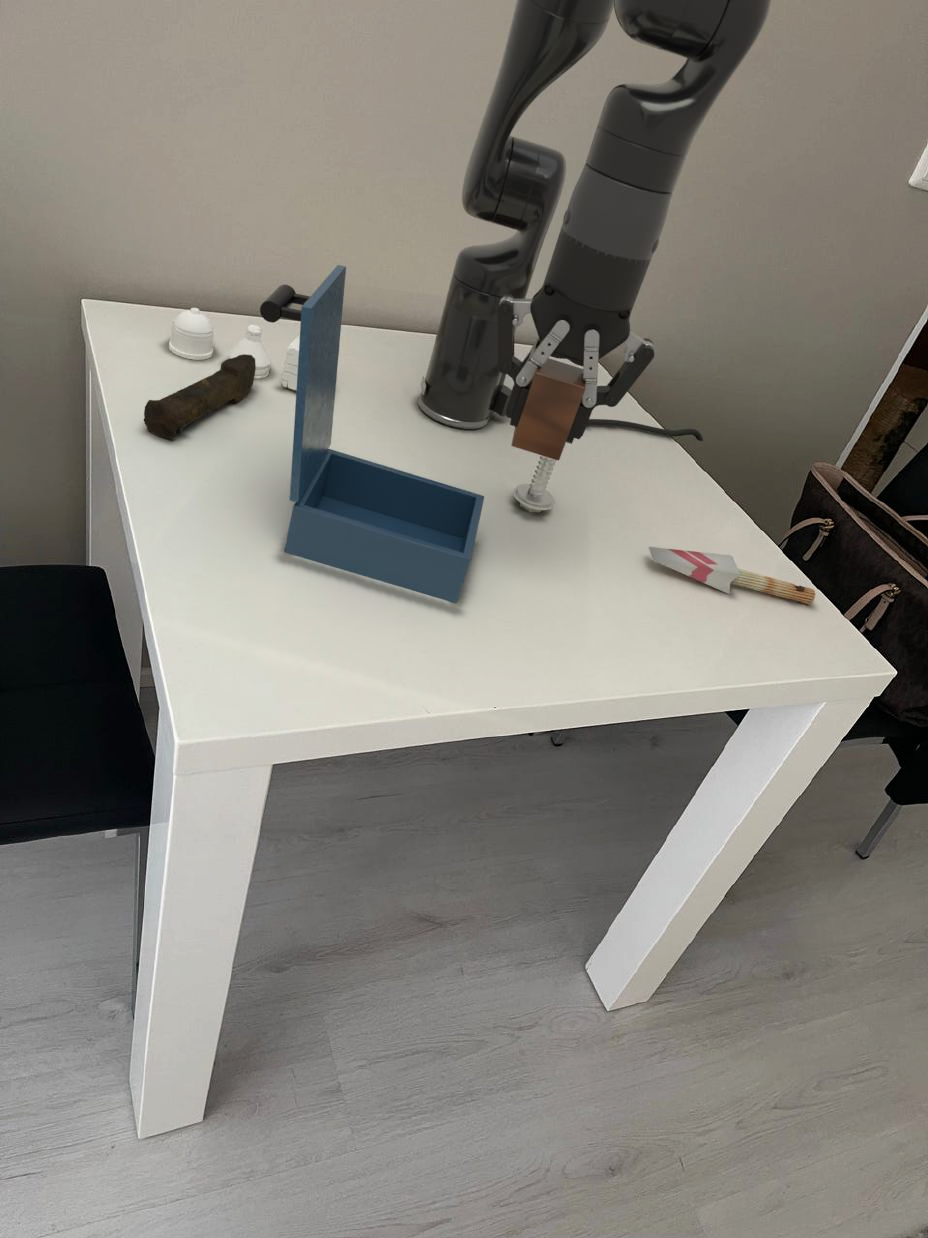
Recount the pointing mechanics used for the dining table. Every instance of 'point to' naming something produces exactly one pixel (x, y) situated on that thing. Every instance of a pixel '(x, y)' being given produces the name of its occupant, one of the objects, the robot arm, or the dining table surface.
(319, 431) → the toolbox lid
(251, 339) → the container set
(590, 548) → the dining table surface
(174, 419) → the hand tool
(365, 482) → the toolbox
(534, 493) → the screw
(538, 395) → the brown block
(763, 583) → the knife with wooden handle
